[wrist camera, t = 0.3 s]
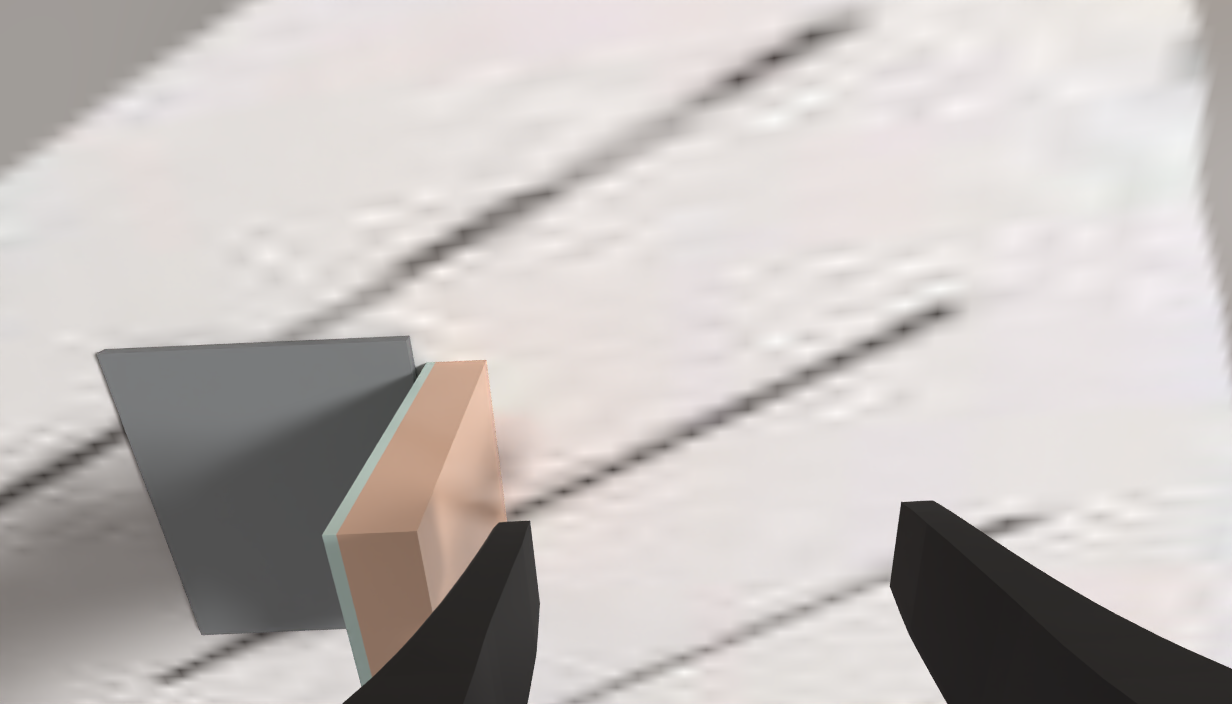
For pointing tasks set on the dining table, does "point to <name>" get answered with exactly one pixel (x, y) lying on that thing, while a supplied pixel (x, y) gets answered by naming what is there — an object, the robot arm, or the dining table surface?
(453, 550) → the peach green flat block
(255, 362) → the mat
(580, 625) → the dining table surface
